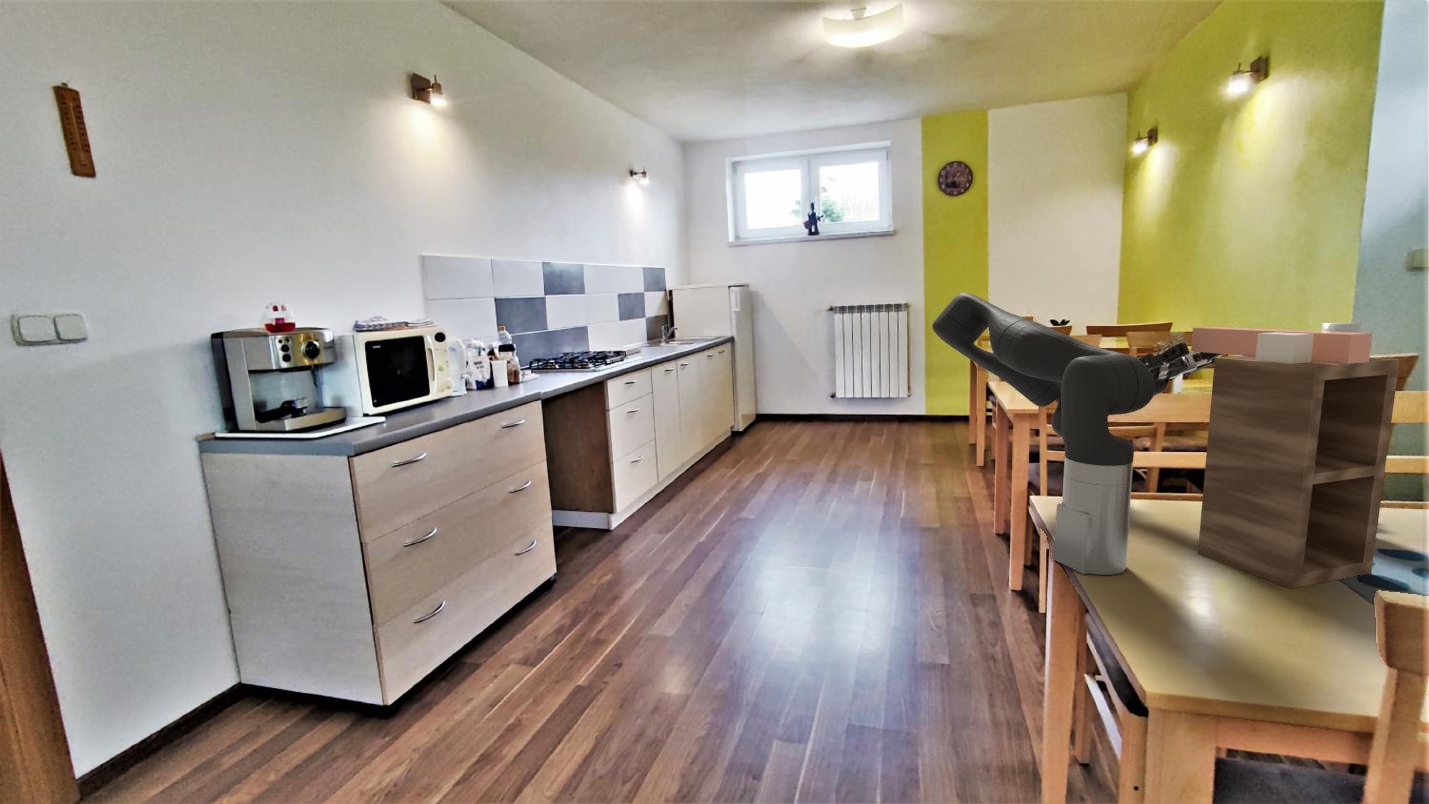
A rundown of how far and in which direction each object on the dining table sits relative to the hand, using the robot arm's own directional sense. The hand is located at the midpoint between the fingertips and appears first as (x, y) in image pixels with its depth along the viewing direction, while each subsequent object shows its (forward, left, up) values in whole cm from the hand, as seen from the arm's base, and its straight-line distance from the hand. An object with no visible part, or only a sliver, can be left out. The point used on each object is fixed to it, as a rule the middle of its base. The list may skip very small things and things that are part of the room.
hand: (1206, 346), depth 113 cm
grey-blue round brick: (+5, -16, -1) cm, 17 cm away
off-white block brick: (-5, -16, -1) cm, 17 cm away
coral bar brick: (0, -10, -1) cm, 11 cm away
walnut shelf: (0, -15, -33) cm, 36 cm away
